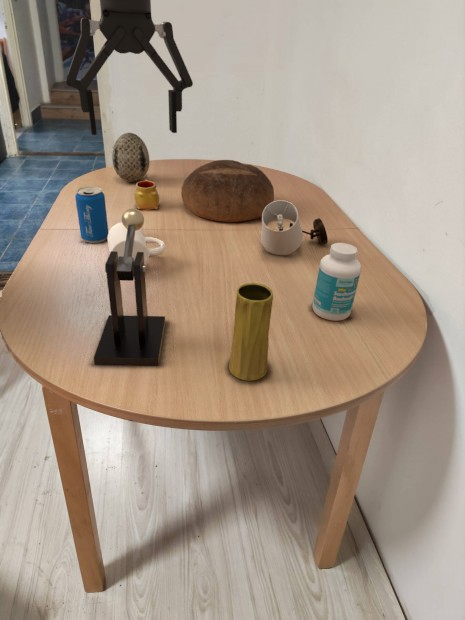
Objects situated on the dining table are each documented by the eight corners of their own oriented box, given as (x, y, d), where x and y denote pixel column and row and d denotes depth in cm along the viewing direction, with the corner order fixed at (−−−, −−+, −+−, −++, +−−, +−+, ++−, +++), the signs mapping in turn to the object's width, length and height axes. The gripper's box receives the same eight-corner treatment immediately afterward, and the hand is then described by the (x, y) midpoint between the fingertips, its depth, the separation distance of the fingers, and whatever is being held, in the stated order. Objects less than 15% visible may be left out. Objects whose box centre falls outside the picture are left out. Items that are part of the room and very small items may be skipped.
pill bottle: (331, 326, 83) (345, 261, 76) (303, 308, 88) (314, 244, 81) (358, 315, 87) (374, 251, 80) (330, 297, 92) (342, 236, 85)
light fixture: (258, 240, 118) (251, 204, 102) (315, 220, 117) (317, 181, 101) (270, 273, 114) (265, 242, 98) (329, 253, 114) (334, 218, 98)
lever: (124, 219, 77) (121, 203, 74) (146, 219, 77) (143, 204, 74) (114, 282, 70) (110, 268, 66) (138, 283, 70) (135, 269, 67)
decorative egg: (106, 180, 148) (101, 132, 140) (134, 173, 156) (131, 127, 148) (129, 189, 142) (126, 139, 134) (157, 181, 150) (155, 134, 142)
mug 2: (158, 211, 128) (157, 187, 124) (133, 210, 127) (132, 187, 123) (160, 196, 138) (160, 174, 134) (137, 196, 137) (136, 174, 133)
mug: (111, 276, 95) (108, 241, 91) (109, 255, 103) (105, 222, 99) (168, 271, 98) (167, 237, 94) (161, 251, 106) (160, 219, 102)
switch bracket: (109, 321, 81) (99, 240, 73) (165, 322, 82) (162, 242, 73) (94, 364, 71) (81, 276, 63) (158, 365, 72) (154, 278, 63)
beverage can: (77, 243, 107) (70, 194, 101) (86, 232, 113) (79, 185, 106) (104, 245, 107) (99, 195, 101) (112, 234, 113) (107, 186, 106)
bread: (183, 191, 143) (183, 148, 136) (267, 194, 144) (271, 152, 137) (178, 223, 121) (177, 173, 114) (277, 226, 123) (283, 177, 115)
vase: (256, 386, 69) (265, 307, 61) (221, 372, 71) (225, 294, 63) (273, 364, 73) (283, 288, 66) (240, 352, 76) (245, 277, 68)
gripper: (32, -27, 60) (58, 139, 72) (212, -14, 68) (209, 135, 79) (34, -24, 66) (58, 129, 78) (199, -12, 74) (198, 126, 85)
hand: (134, 132), depth 79 cm, fingers open, 13 cm apart
